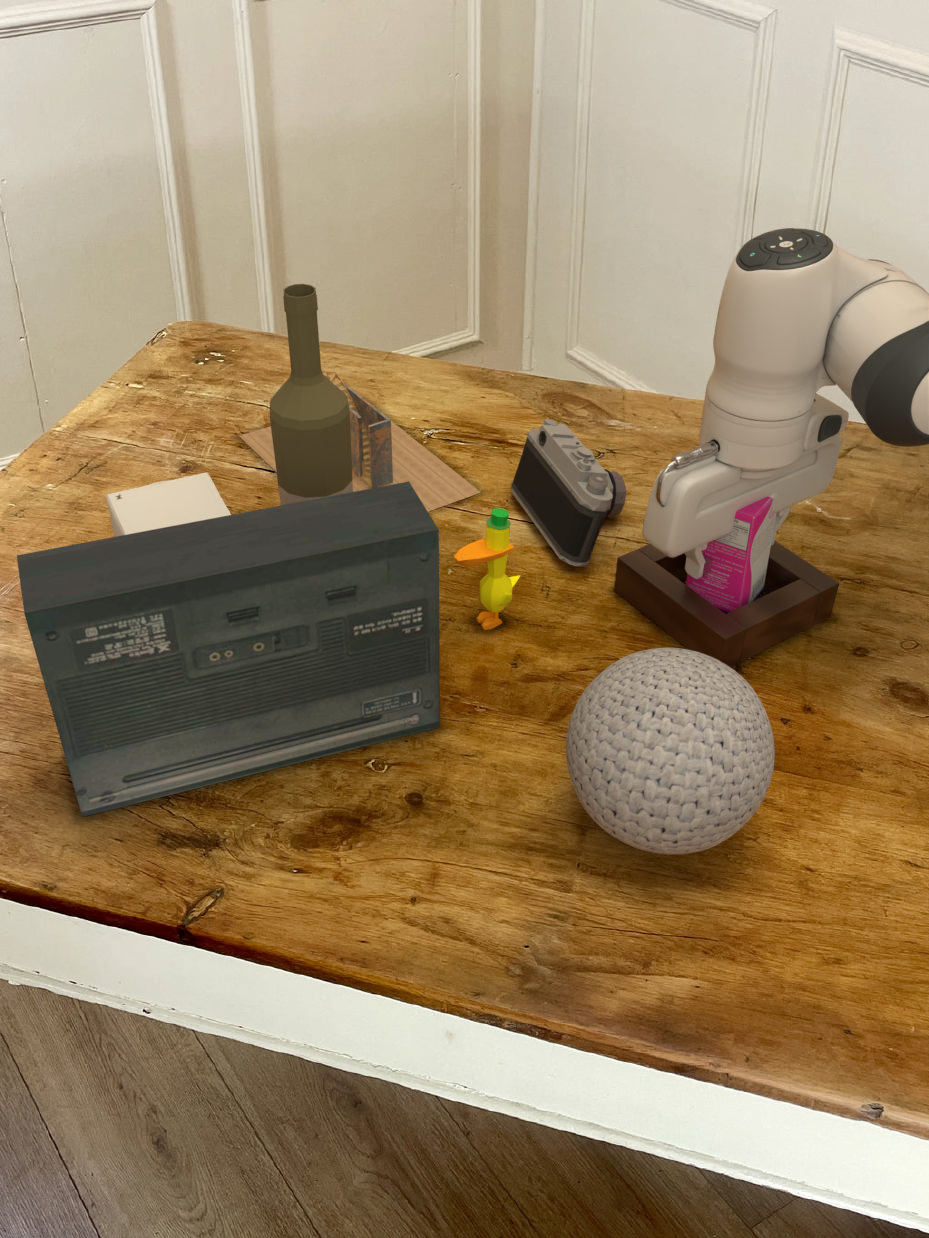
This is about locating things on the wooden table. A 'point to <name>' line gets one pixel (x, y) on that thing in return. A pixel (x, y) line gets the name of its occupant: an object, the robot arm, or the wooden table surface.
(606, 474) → the camera
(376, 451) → the architectural model on board
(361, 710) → the cassette player
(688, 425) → the wooden table surface
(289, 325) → the bottle
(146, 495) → the white product box
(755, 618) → the wooden frame
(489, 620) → the toy figure
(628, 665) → the decorative ball
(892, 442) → the robot arm
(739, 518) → the supplement box
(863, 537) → the wooden table surface
